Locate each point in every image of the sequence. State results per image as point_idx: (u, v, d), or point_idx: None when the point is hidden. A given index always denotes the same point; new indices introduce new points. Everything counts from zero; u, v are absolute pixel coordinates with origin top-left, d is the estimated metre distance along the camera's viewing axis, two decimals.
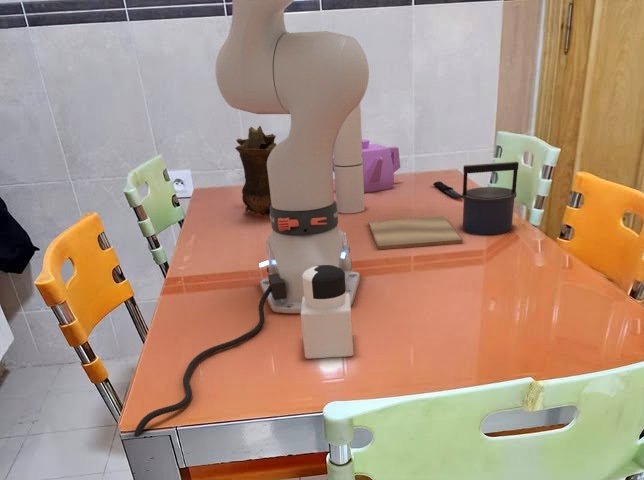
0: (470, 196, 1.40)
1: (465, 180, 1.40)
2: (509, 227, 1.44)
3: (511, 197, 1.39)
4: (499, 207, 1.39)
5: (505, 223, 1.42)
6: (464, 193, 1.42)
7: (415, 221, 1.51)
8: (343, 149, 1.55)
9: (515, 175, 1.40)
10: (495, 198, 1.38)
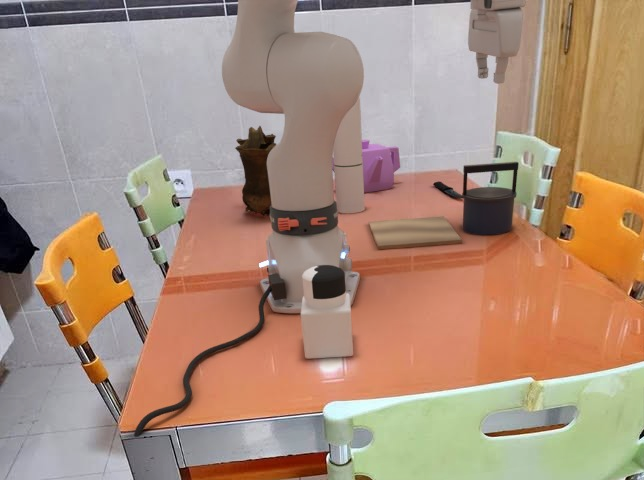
0: (470, 196, 1.40)
1: (465, 180, 1.40)
2: (509, 227, 1.44)
3: (511, 197, 1.39)
4: (499, 207, 1.39)
5: (505, 223, 1.42)
6: (464, 193, 1.42)
7: (415, 221, 1.51)
8: (343, 149, 1.55)
9: (515, 175, 1.40)
10: (495, 198, 1.38)
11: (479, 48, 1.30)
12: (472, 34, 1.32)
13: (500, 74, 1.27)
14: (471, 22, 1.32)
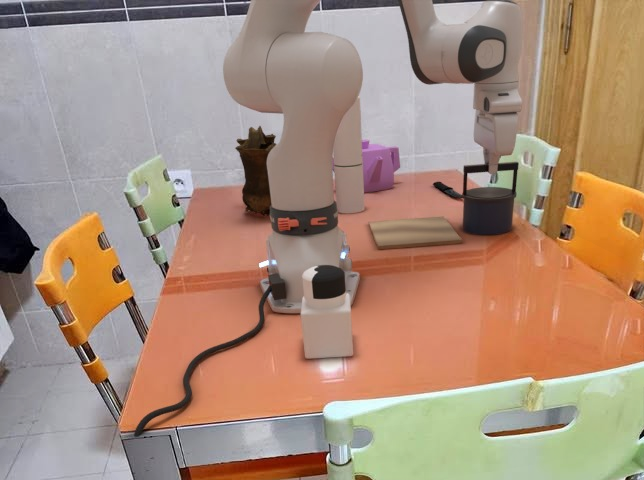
0: (470, 196, 1.40)
1: (465, 180, 1.40)
2: (509, 227, 1.44)
3: (511, 197, 1.39)
4: (499, 207, 1.39)
5: (505, 223, 1.42)
6: (464, 193, 1.42)
7: (415, 221, 1.51)
8: (343, 149, 1.55)
9: (515, 175, 1.40)
10: (495, 198, 1.38)
11: (481, 142, 1.38)
12: (477, 128, 1.41)
13: (493, 166, 1.37)
14: (476, 117, 1.40)
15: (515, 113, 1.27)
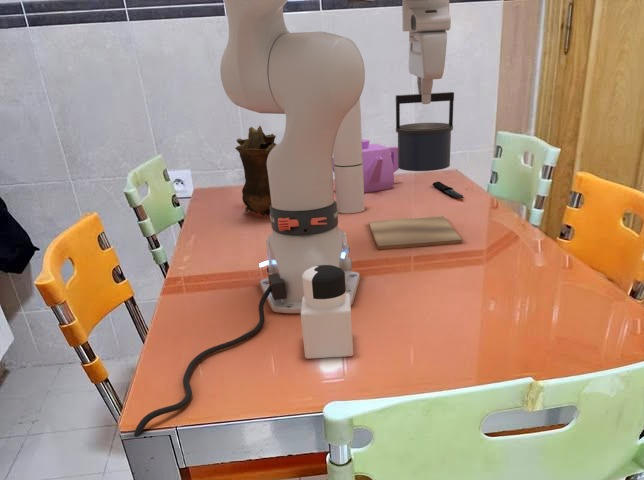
0: (403, 129, 1.32)
1: (397, 111, 1.31)
2: (446, 164, 1.35)
3: (446, 129, 1.30)
4: (433, 140, 1.30)
5: (441, 158, 1.33)
6: (397, 126, 1.33)
7: (415, 221, 1.51)
8: (343, 149, 1.55)
9: (451, 107, 1.32)
10: (428, 130, 1.29)
11: (414, 70, 1.30)
12: (410, 57, 1.32)
13: (426, 95, 1.28)
14: (410, 44, 1.31)
15: (444, 31, 1.18)
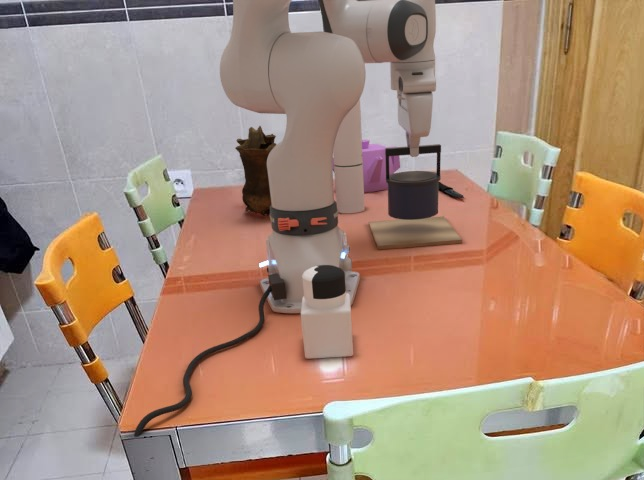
0: (392, 180, 1.37)
1: (387, 163, 1.37)
2: (434, 212, 1.40)
3: (433, 180, 1.36)
4: (421, 191, 1.36)
5: (429, 207, 1.39)
6: (387, 177, 1.38)
7: (415, 221, 1.51)
8: (343, 149, 1.55)
9: (438, 158, 1.37)
10: (417, 181, 1.35)
11: (402, 124, 1.35)
12: (399, 110, 1.37)
13: (414, 148, 1.34)
14: (398, 98, 1.37)
15: (429, 93, 1.23)
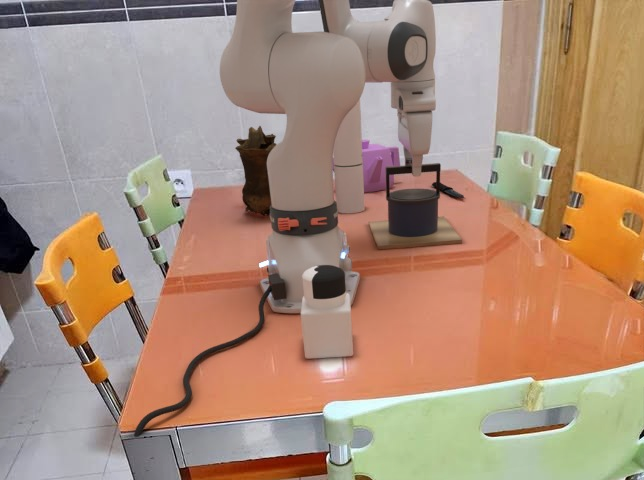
0: (393, 198, 1.39)
1: (387, 182, 1.39)
2: (434, 229, 1.42)
3: (433, 199, 1.38)
4: (421, 209, 1.38)
5: (429, 225, 1.41)
6: (387, 195, 1.40)
7: None
8: (343, 149, 1.55)
9: (438, 177, 1.39)
10: (416, 200, 1.37)
11: (402, 141, 1.37)
12: (399, 127, 1.39)
13: (416, 168, 1.33)
14: None
15: (429, 112, 1.25)
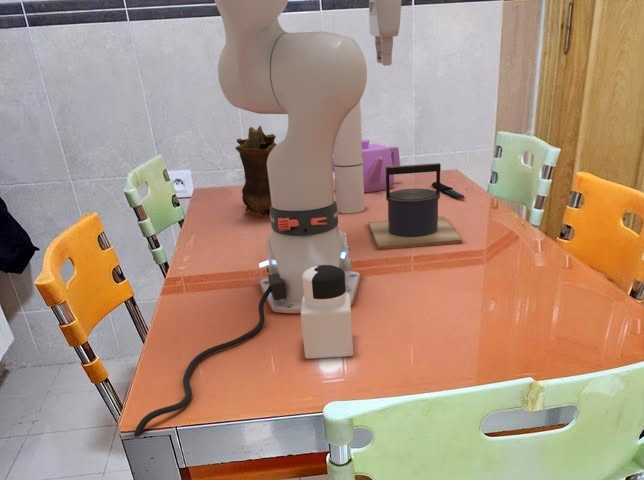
0: (393, 198, 1.39)
1: (387, 182, 1.39)
2: (434, 229, 1.42)
3: (433, 199, 1.38)
4: (421, 209, 1.38)
5: (429, 225, 1.41)
6: (387, 195, 1.40)
7: None
8: (343, 149, 1.55)
9: (438, 177, 1.39)
10: (416, 200, 1.37)
11: (372, 30, 1.27)
12: (370, 17, 1.30)
13: (386, 56, 1.24)
14: (369, 4, 1.29)
15: None
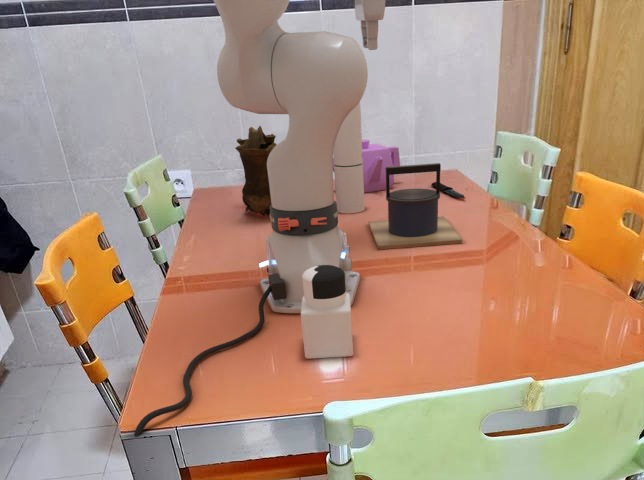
0: (393, 198, 1.39)
1: (387, 182, 1.39)
2: (434, 229, 1.42)
3: (433, 199, 1.38)
4: (421, 209, 1.38)
5: (429, 225, 1.41)
6: (387, 195, 1.40)
7: None
8: (343, 149, 1.55)
9: (438, 177, 1.39)
10: (416, 200, 1.37)
11: (358, 15, 1.27)
12: (356, 2, 1.29)
13: (372, 40, 1.23)
14: None
15: None
